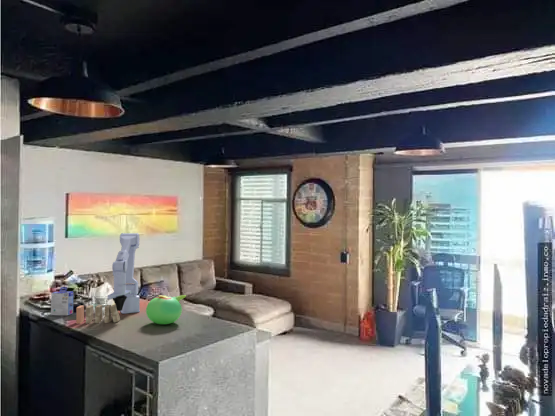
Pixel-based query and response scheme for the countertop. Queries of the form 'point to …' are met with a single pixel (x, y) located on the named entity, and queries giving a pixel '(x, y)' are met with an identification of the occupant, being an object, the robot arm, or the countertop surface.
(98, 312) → the domino
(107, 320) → the domino
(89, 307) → the domino
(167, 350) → the countertop surface
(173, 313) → the green teapot
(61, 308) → the ink cartridge box
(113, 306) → the domino
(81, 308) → the domino
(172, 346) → the countertop surface
